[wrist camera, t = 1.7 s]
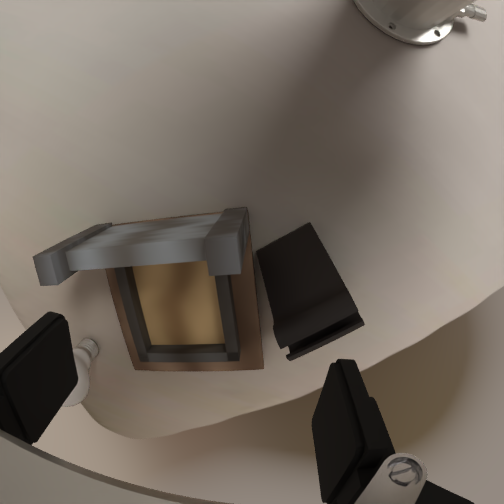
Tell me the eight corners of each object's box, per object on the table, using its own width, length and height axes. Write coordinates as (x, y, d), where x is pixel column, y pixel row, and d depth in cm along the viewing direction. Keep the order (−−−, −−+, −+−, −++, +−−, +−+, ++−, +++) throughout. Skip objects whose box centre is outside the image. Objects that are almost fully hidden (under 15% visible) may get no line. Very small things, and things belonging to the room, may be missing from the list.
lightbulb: (71, 351, 37) (30, 399, 27) (73, 315, 35) (26, 362, 25) (110, 371, 38) (75, 425, 27) (116, 336, 36) (75, 391, 25)
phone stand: (346, 294, 33) (380, 360, 22) (297, 319, 34) (309, 393, 23) (310, 221, 31) (335, 260, 19) (256, 249, 32) (251, 303, 21)
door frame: (247, 205, 31) (236, 236, 19) (263, 363, 36) (262, 441, 24) (100, 222, 32) (32, 256, 20) (137, 365, 37) (101, 430, 26)
